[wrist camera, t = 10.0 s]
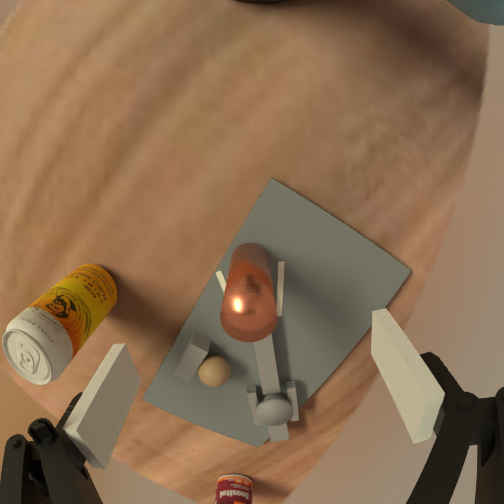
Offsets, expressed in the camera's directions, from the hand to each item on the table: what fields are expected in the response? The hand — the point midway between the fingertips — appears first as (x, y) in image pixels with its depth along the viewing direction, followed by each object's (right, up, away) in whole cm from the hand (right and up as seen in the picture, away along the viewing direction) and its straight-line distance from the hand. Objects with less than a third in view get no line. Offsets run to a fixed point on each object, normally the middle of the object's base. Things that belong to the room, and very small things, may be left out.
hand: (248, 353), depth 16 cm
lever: (+2, -7, +19) cm, 20 cm away
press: (+2, -5, +20) cm, 21 cm away
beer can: (-18, +1, +18) cm, 25 cm away
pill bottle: (-3, -35, +29) cm, 46 cm away
